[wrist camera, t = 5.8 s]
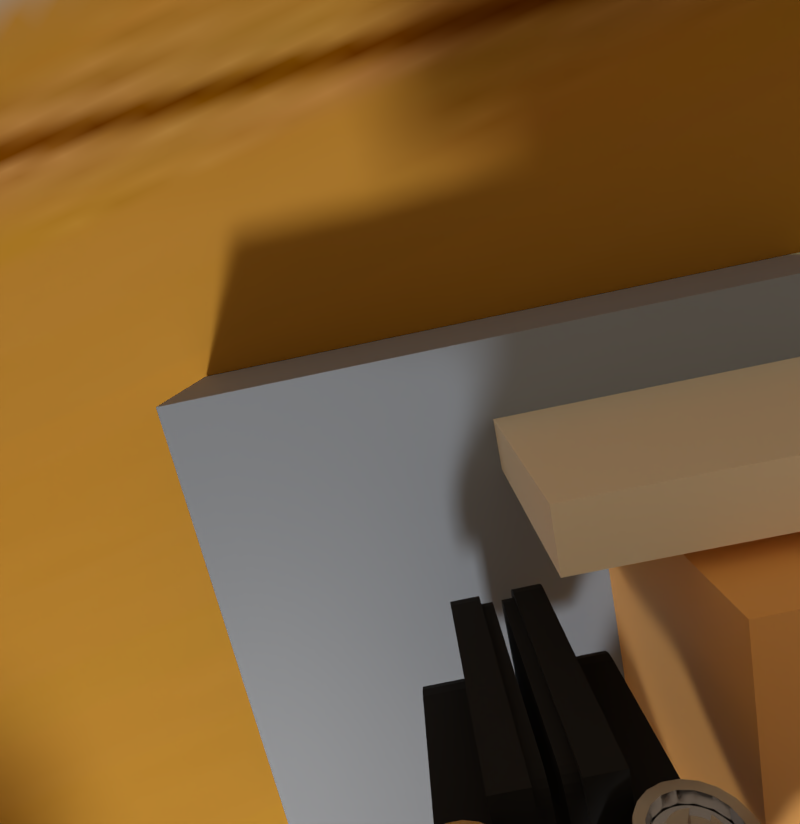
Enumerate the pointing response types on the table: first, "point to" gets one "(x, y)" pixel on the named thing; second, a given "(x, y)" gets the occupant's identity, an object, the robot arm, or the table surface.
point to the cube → (720, 666)
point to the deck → (473, 500)
